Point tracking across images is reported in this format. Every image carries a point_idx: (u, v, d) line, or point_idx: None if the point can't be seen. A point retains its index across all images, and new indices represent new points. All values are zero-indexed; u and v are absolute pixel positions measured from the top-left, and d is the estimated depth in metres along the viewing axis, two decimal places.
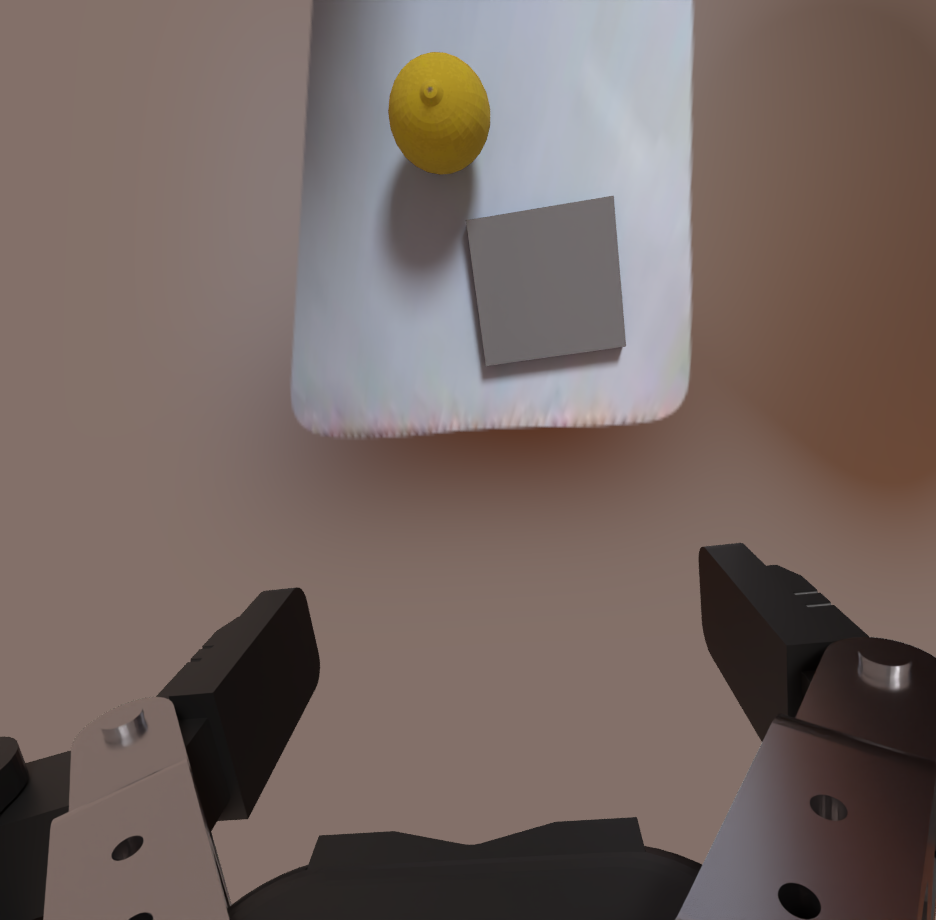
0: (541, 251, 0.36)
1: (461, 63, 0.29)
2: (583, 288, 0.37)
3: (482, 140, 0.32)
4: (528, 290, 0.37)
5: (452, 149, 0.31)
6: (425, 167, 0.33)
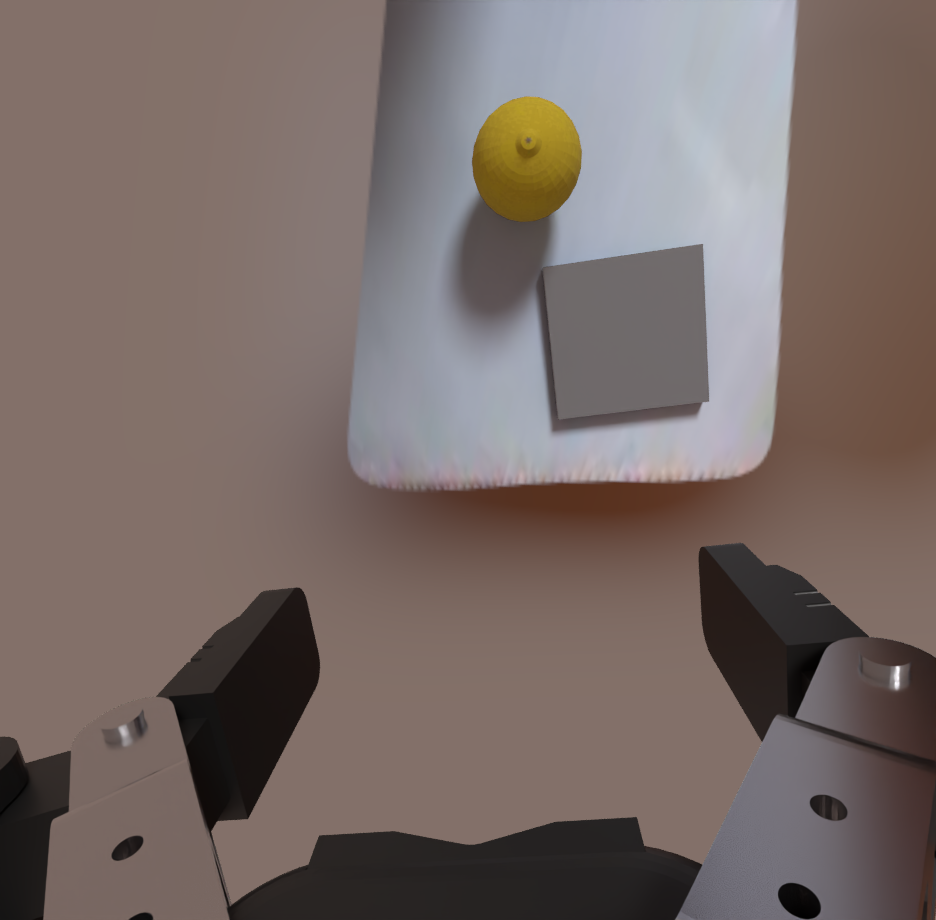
0: (622, 301, 0.34)
1: (558, 110, 0.27)
2: (666, 340, 0.34)
3: (572, 189, 0.30)
4: (607, 341, 0.35)
5: (543, 201, 0.28)
6: (509, 216, 0.30)
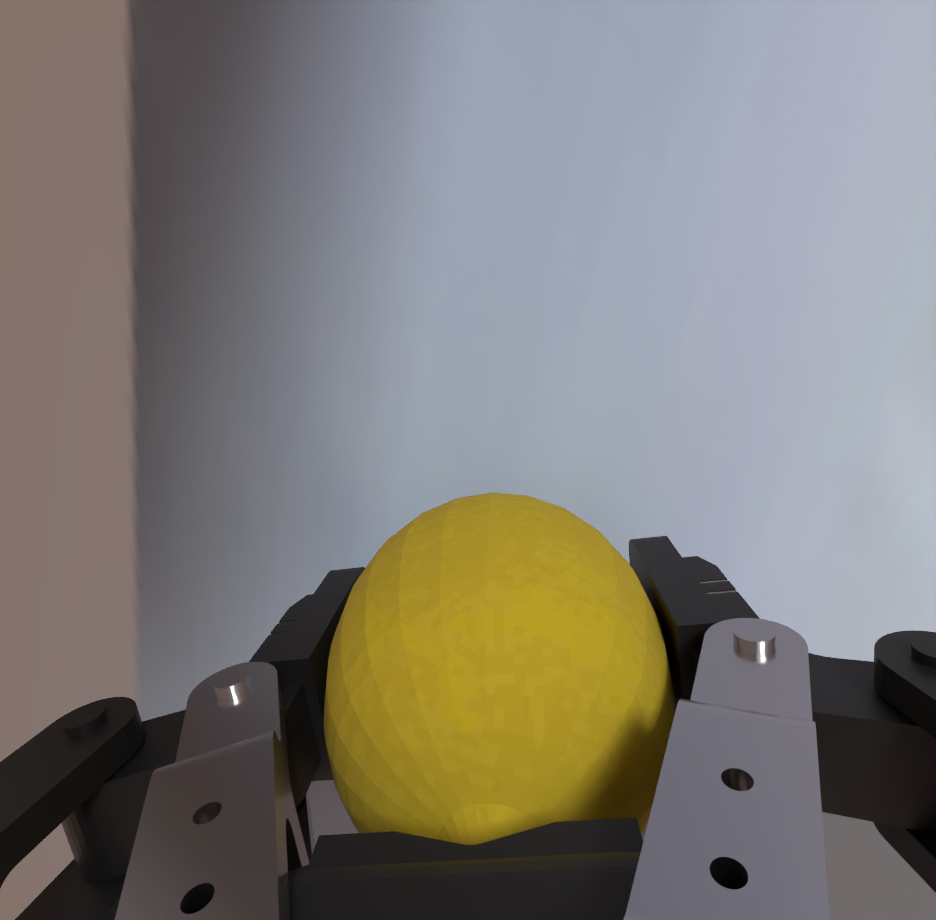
0: None
1: (608, 655, 0.07)
2: None
3: None
4: None
5: None
6: None
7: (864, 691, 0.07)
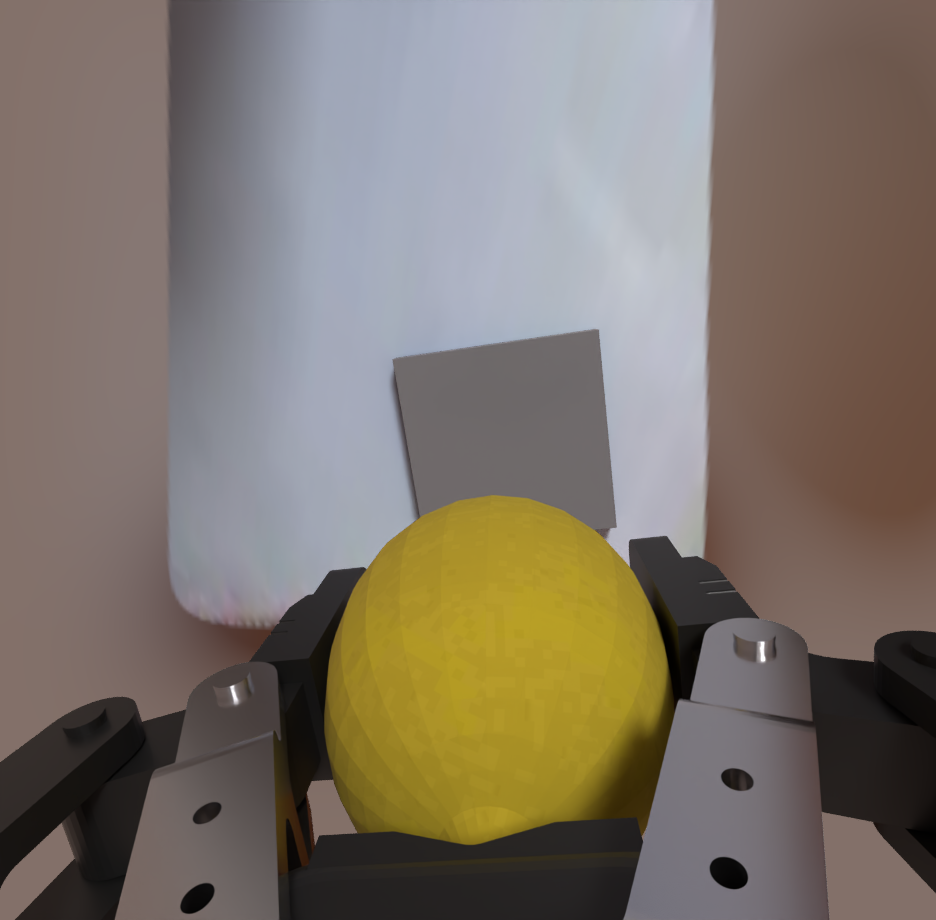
0: (498, 402, 0.26)
1: (608, 658, 0.07)
2: (557, 451, 0.26)
3: None
4: (481, 452, 0.27)
5: None
6: None
7: (864, 691, 0.07)
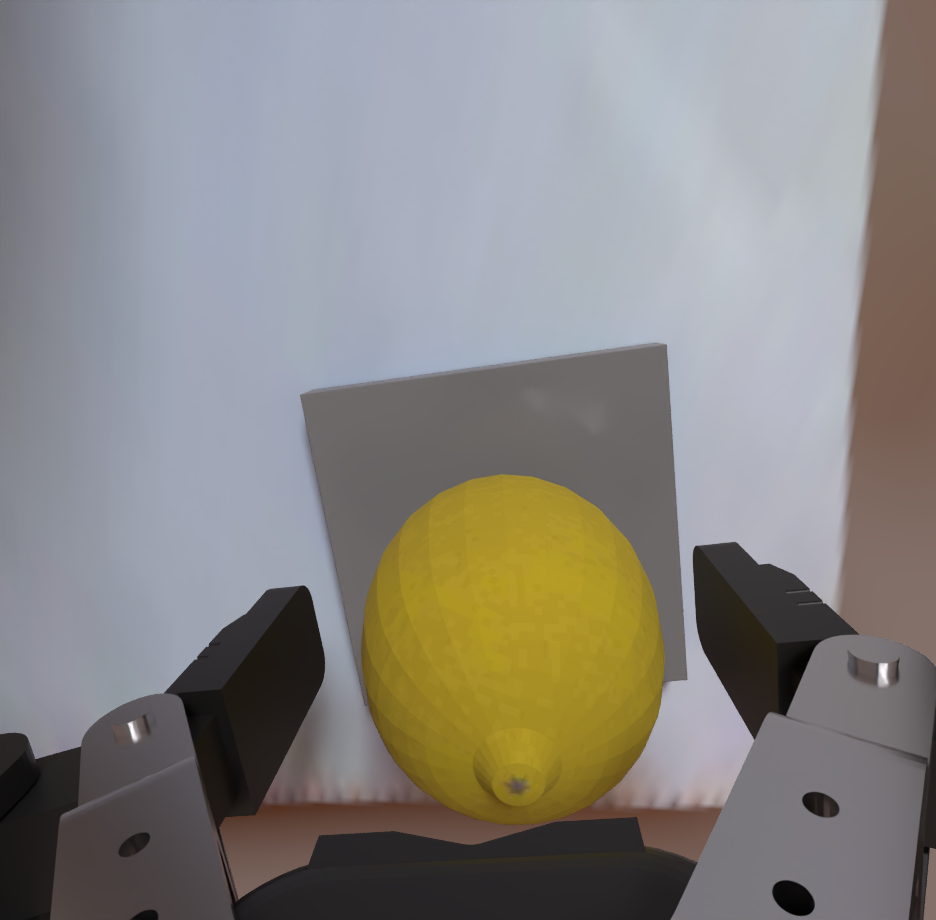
0: (486, 470, 0.15)
1: (611, 607, 0.09)
2: None
3: None
4: None
5: None
6: None
7: None
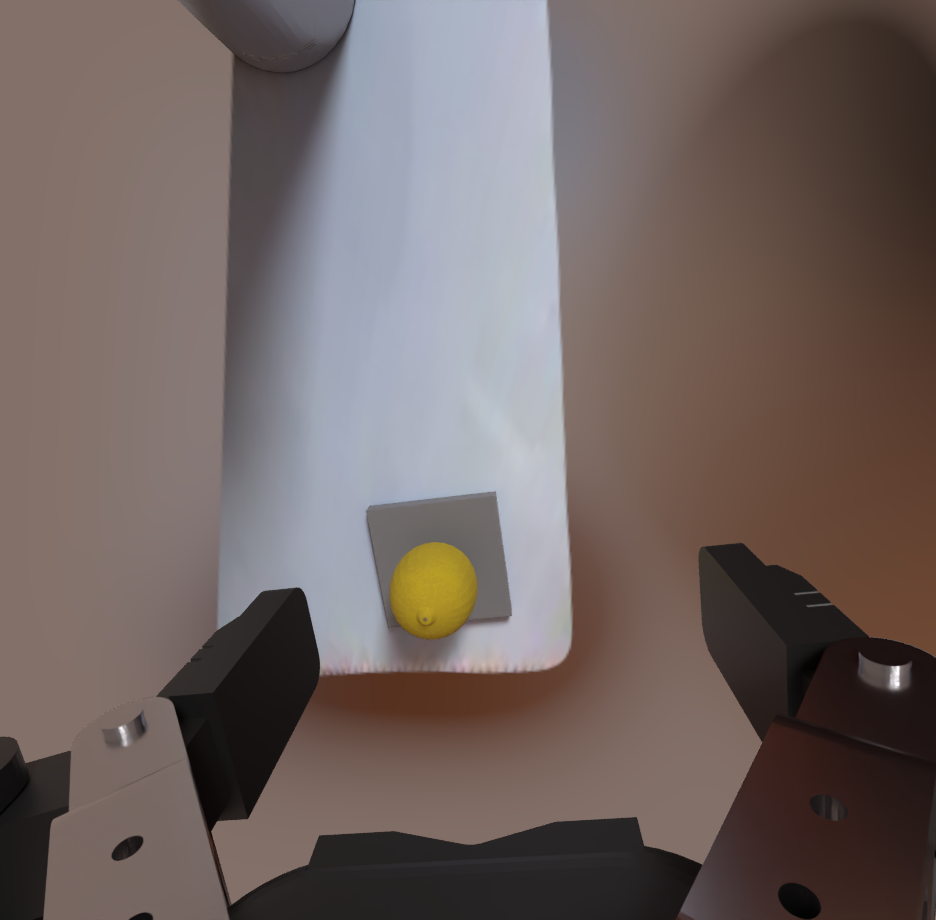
0: (433, 537, 0.41)
1: (451, 580, 0.34)
2: None
3: None
4: None
5: (444, 636, 0.36)
6: None
7: None
